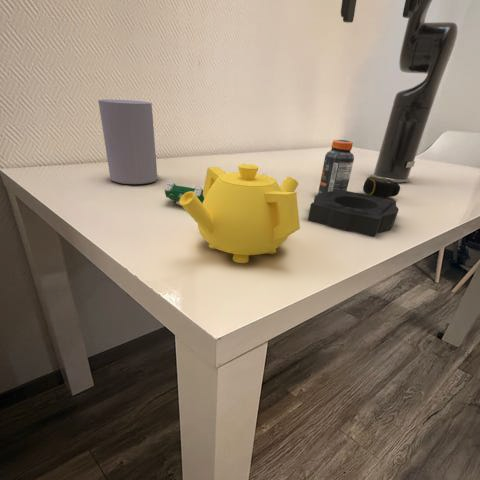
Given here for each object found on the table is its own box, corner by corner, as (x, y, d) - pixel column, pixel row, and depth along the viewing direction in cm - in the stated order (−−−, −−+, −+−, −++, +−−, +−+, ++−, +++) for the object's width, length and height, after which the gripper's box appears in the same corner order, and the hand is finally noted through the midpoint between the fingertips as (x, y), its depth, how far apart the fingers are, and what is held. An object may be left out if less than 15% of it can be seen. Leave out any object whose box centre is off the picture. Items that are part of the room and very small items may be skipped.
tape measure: (398, 200, 75) (403, 183, 73) (373, 201, 74) (378, 183, 71) (379, 192, 81) (384, 175, 79) (355, 192, 79) (359, 176, 77)
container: (101, 182, 72) (87, 100, 64) (124, 172, 81) (115, 99, 72) (145, 187, 71) (137, 104, 62) (164, 177, 79) (159, 102, 71)
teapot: (251, 218, 59) (257, 149, 53) (333, 254, 49) (353, 172, 42) (149, 242, 48) (141, 157, 41) (228, 295, 37) (233, 192, 31)
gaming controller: (170, 209, 66) (156, 192, 60) (176, 192, 66) (163, 173, 60) (212, 217, 64) (203, 200, 58) (218, 199, 64) (209, 181, 58)
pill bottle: (316, 192, 76) (327, 137, 70) (342, 195, 76) (355, 139, 69) (318, 200, 72) (329, 141, 65) (346, 202, 71) (360, 143, 64)
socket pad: (327, 201, 71) (330, 187, 69) (399, 217, 65) (405, 202, 63) (299, 219, 60) (302, 202, 59) (382, 239, 54) (388, 221, 53)
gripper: (489, -181, 36) (436, 19, 46) (363, -140, 43) (340, 25, 53) (477, -219, 32) (421, 12, 41) (338, -166, 39) (318, 21, 48)
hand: (375, 19), depth 47 cm, fingers open, 8 cm apart
